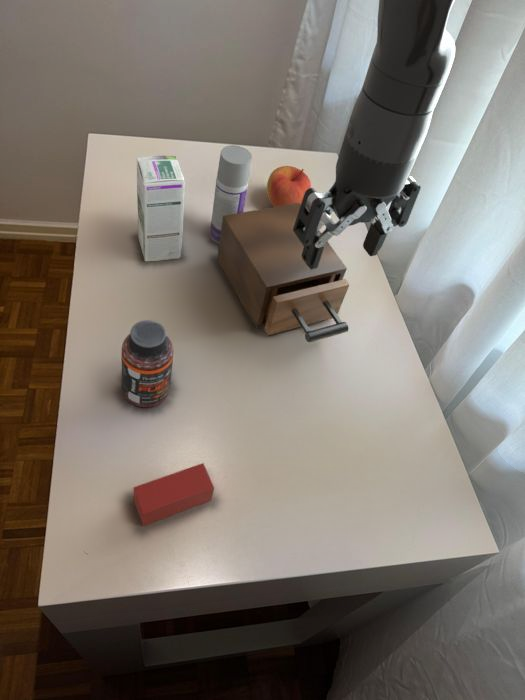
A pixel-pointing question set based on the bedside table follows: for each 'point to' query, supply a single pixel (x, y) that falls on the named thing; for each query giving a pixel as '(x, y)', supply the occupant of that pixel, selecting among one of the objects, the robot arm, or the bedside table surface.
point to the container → (230, 186)
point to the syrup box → (160, 207)
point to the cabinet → (268, 256)
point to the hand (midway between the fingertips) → (340, 257)
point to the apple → (287, 186)
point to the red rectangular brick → (173, 494)
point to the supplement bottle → (147, 364)
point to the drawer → (307, 307)
